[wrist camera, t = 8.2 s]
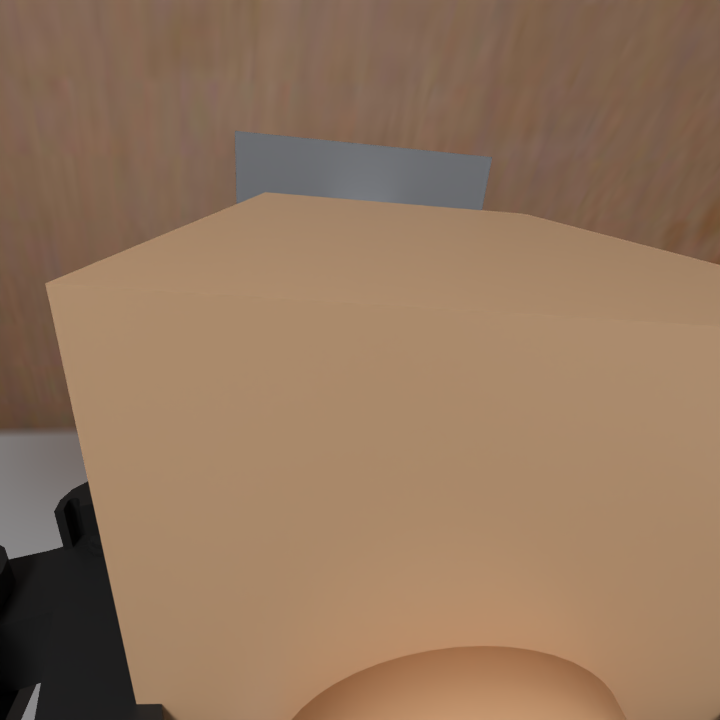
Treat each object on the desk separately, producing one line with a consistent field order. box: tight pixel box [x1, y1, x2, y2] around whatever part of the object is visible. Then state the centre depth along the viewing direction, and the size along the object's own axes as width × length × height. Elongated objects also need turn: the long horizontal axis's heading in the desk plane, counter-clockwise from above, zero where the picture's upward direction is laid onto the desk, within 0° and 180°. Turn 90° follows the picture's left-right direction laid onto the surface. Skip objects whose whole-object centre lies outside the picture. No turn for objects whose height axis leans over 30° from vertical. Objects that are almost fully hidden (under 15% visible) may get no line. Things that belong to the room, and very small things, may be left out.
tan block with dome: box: [45, 192, 720, 720], centre depth 9 cm, size 12×7×12 cm, turn 175°
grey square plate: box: [235, 131, 492, 210], centre depth 27 cm, size 16×16×10 cm
